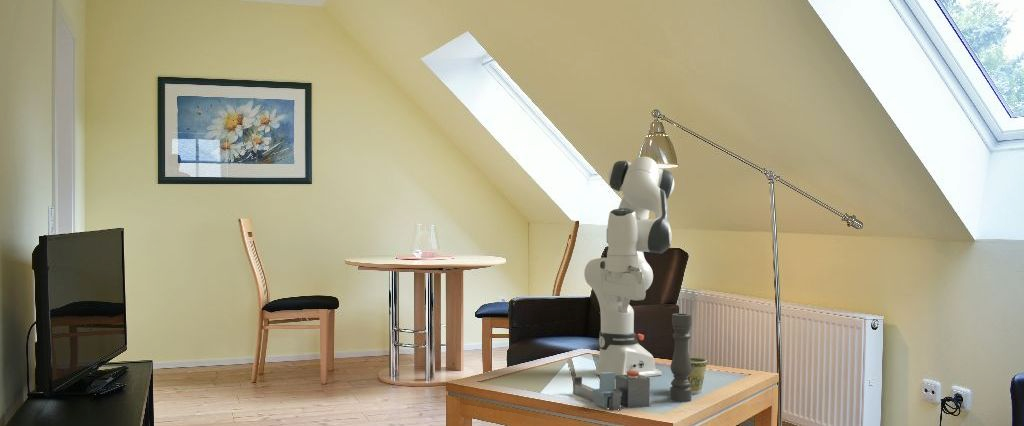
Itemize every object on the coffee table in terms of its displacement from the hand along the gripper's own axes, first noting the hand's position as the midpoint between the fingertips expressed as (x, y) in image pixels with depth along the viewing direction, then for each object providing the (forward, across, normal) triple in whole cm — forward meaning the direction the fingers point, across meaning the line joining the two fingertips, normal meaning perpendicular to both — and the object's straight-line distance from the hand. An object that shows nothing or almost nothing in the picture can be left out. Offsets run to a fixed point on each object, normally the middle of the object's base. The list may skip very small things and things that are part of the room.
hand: (622, 312), depth 257 cm
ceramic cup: (+27, +4, -27) cm, 38 cm away
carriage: (+26, -5, +8) cm, 27 cm away
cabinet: (+26, -5, 0) cm, 26 cm away
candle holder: (+26, -4, -17) cm, 32 cm away
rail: (+26, +2, +8) cm, 27 cm away
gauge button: (+22, -5, 0) cm, 23 cm away
